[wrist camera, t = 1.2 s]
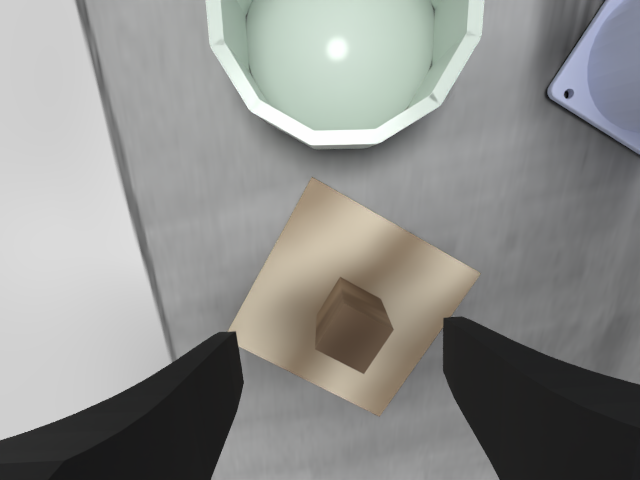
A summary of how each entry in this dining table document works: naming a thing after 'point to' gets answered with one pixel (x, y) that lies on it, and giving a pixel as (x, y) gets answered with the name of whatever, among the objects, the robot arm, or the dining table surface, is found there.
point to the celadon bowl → (343, 62)
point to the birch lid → (349, 299)
